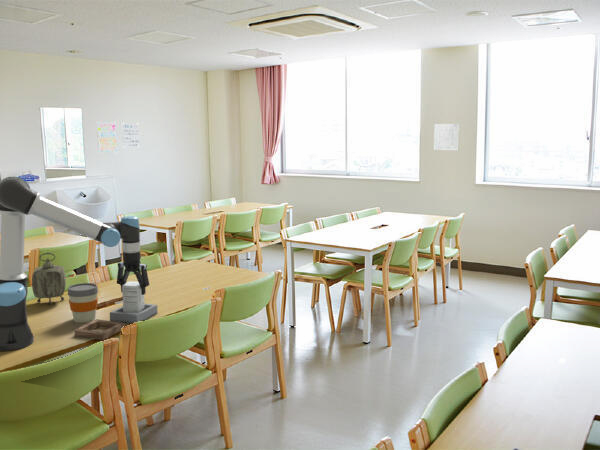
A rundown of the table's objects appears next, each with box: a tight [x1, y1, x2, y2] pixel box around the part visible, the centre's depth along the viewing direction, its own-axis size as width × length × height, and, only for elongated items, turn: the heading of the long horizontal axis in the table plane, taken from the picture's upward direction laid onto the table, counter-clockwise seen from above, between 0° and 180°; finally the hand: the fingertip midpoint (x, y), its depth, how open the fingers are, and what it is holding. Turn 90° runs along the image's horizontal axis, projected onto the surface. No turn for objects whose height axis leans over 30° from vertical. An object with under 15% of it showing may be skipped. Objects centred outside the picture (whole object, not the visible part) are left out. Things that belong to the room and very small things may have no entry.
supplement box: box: [121, 280, 145, 313], centre depth 243 cm, size 7×7×13 cm
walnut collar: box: [73, 318, 125, 341], centre depth 226 cm, size 14×14×2 cm
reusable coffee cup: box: [67, 282, 99, 324], centre depth 240 cm, size 13×13×15 cm
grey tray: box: [109, 302, 158, 325], centre depth 245 cm, size 16×14×4 cm
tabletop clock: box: [31, 252, 67, 305], centre depth 261 cm, size 14×9×25 cm, turn 110°
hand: (133, 300), depth 244 cm, fingers closed on supplement box, 8 cm apart
